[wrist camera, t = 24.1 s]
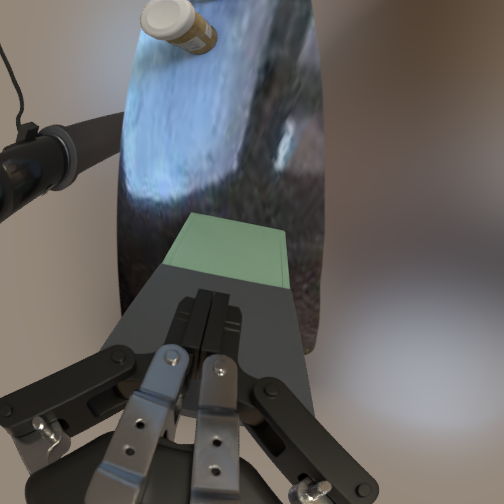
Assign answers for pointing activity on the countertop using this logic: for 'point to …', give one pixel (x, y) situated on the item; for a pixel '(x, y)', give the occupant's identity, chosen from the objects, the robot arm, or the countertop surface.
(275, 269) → the mint green storage bin
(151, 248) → the countertop surface
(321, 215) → the countertop surface
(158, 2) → the sprinkles bottle
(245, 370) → the pod lid
